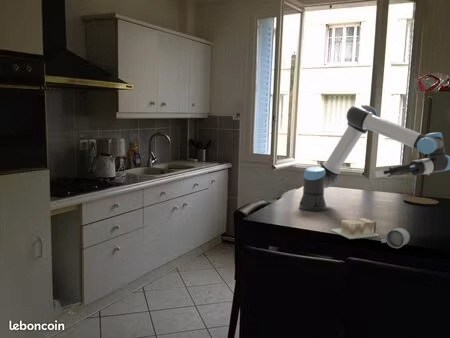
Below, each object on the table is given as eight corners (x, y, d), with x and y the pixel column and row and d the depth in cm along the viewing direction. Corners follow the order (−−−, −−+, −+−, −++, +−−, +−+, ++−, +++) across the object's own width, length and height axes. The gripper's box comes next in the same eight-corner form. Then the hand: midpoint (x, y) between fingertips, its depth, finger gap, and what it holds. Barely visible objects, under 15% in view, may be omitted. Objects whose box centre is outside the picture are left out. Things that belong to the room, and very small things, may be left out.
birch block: (365, 218, 191) (341, 220, 185) (376, 221, 184) (351, 224, 179) (364, 228, 191) (340, 230, 186) (375, 232, 185) (350, 235, 180)
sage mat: (357, 227, 194) (357, 226, 194) (378, 235, 181) (379, 234, 181) (330, 230, 188) (330, 229, 188) (350, 239, 175) (350, 237, 175)
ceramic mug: (410, 245, 169) (411, 227, 168) (403, 250, 162) (405, 231, 162) (384, 240, 176) (385, 223, 175) (377, 244, 169) (378, 226, 168)
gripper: (430, 170, 191) (385, 178, 187) (415, 177, 203) (372, 184, 200) (426, 155, 193) (380, 163, 189) (411, 163, 205) (368, 170, 202)
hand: (376, 174), depth 194 cm, fingers closed
